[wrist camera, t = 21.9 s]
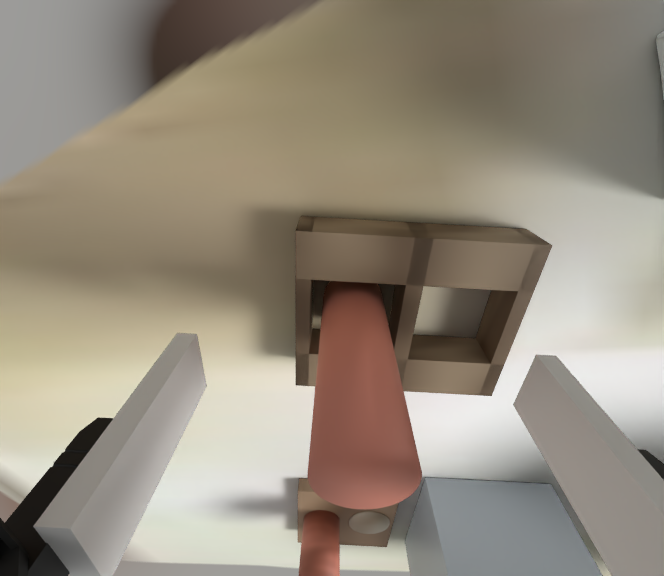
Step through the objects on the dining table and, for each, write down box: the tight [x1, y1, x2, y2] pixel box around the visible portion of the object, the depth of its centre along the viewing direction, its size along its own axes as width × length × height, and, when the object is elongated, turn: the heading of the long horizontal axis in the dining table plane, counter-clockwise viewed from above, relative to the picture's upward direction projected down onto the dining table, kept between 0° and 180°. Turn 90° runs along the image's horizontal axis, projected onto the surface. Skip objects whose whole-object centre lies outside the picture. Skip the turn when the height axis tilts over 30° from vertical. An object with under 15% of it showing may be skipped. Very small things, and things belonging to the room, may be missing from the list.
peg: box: [308, 281, 422, 509], centre depth 14 cm, size 3×3×10 cm
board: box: [298, 478, 399, 576], centre depth 25 cm, size 8×8×6 cm
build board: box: [295, 216, 552, 396], centre depth 17 cm, size 11×9×2 cm
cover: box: [405, 477, 603, 576], centre depth 25 cm, size 10×10×7 cm
